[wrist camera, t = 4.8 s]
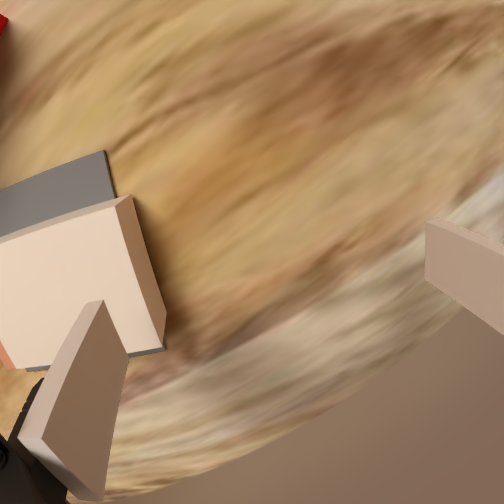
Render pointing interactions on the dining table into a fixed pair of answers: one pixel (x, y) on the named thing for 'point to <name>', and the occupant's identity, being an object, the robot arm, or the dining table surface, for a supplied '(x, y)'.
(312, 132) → the dining table surface
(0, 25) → the puzzle toy
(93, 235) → the tall block
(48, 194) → the mat
